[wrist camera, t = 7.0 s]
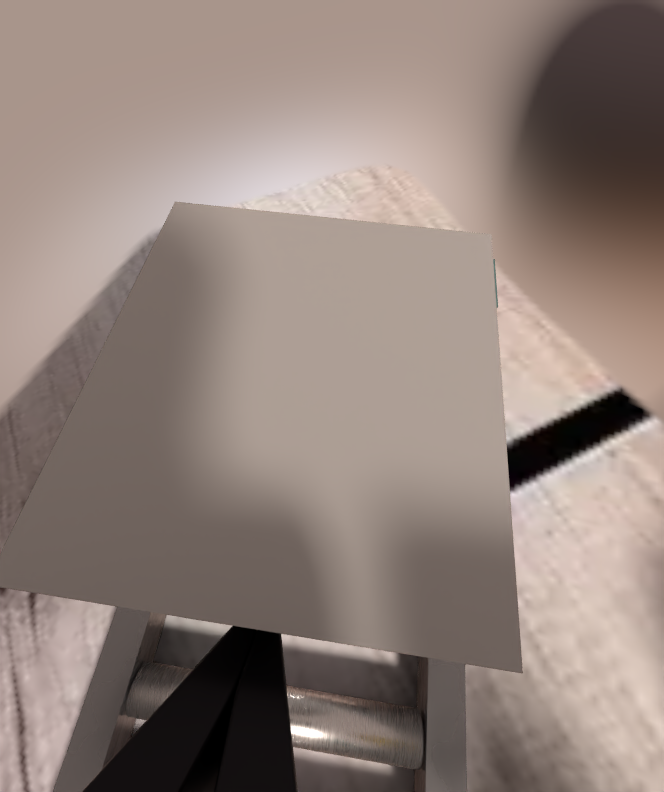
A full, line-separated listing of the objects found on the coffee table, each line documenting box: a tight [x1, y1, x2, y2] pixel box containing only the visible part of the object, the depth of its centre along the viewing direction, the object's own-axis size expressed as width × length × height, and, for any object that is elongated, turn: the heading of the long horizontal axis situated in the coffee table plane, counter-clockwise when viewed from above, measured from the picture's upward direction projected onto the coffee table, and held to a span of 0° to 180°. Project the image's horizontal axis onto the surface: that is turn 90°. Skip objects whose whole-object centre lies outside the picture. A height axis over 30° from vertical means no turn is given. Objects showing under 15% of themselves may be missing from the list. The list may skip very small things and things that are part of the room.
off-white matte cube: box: [0, 202, 523, 673], centre depth 12 cm, size 10×9×8 cm
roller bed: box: [53, 259, 498, 792], centre depth 12 cm, size 12×25×6 cm, turn 172°
